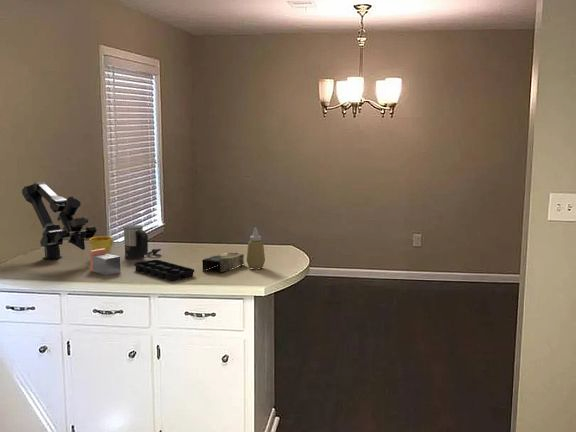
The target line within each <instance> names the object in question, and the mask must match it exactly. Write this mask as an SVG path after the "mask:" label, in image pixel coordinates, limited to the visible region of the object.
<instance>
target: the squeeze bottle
mask: <svg viewBox="0 0 576 432" xmlns="http://www.w3.org/2000/svg"><path fill="white" fill-rule="evenodd" d="M249 238H250V239H249V241H248V242H247V252H246V263H247V266H248V269H249V268H253V269H257V268H262V267H263V268H264V265H265V262H266V257H265V247H264V242H263V240H262V236H261V235H259V232H258V228H257V227H254V228H253V232H252V235H250V237H249ZM263 268H262V269H263Z"/></svg>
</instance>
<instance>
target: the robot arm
mask: <svg viewBox="0 0 576 432" xmlns="http://www.w3.org/2000/svg"><path fill="white" fill-rule="evenodd" d="M21 194H22V197H23V198H24V199H25V201H26V202H28V203H29V204H31V206H32V208H33V209H34V212H35V214H36V216H37V218H38V220H39V222H40V224H41V226H42V234H41V235H42V237H41V239H40V240H39V244H40V247H44V256H43V257H42V259H45V260H58V259H62V258H63V256H62V255H61V249H60V245H63V242H64V239H68V241H67V242H68V244H72V245H73V246H75V247H77V248H78V249H80V250H82V251H84V250H85V249H86V246H85V244H86V243H85V239H87V240H88V239H90V238H93V237H95V234H96V233H97V231H98V229H97V228H96V226H95V225H92V226H91V225H90V226H86V228H85V229H83V228H84V226H85V225H87V224H88V223H89V218H88V217H87V216H86V215H84V216H81V217H77V218H75V217H74V216H75V215H76V214H77V213H78V212H79V211H78V210H79V209H80V207H81V205H82V204H81V201H80V200H78V199H77V198H74V197H73V196H68V198H65V196H64V197H63V196H60V195H58V194H57V193H56V192H55V191H53V190H52V189H51V188H50V187H49V186H48V185H47V183H46V182H44V181H42V182H41V181H40V182H34V183H33V184H31V185H26V186H23V188H22V190H21ZM43 198H44V200H46V202H47V203H49V208H50V210H52V212H53V213H59V214H58V215H57V216H58V217H57V220H56V221H60V222H61V224H62V226H63V228H61V226H60V224H55V223H54V222H53V220H52V218H51V215H50V214H49V212H48V209H47V208H46V207H47V206H45V203H44V201H43ZM62 229H63V230H62ZM82 229H83V230H82Z"/></svg>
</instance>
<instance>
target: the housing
mask: <svg viewBox="0 0 576 432" xmlns="http://www.w3.org/2000/svg"><path fill="white" fill-rule="evenodd" d="M92 259H93V271H92V272H93V273H95V274H99V275H103V276H112V275H115V274H120V273H122V272H121V271H122V269H121V256H119V255H114V254H111V253H110V254H107V253H106V254H101V255H95V256H92Z"/></svg>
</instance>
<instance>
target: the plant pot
mask: <svg viewBox="0 0 576 432" xmlns="http://www.w3.org/2000/svg"><path fill="white" fill-rule="evenodd" d="M113 240H114V239H113V237H111V236H104V235H103V236H93V237H92V238H89V246H90V247H91V250H97V249H103V248H104V249H106V253H107V254H111V250H112V246H113V243H114V242H113Z"/></svg>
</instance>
